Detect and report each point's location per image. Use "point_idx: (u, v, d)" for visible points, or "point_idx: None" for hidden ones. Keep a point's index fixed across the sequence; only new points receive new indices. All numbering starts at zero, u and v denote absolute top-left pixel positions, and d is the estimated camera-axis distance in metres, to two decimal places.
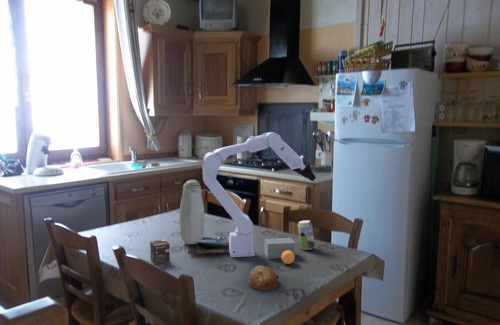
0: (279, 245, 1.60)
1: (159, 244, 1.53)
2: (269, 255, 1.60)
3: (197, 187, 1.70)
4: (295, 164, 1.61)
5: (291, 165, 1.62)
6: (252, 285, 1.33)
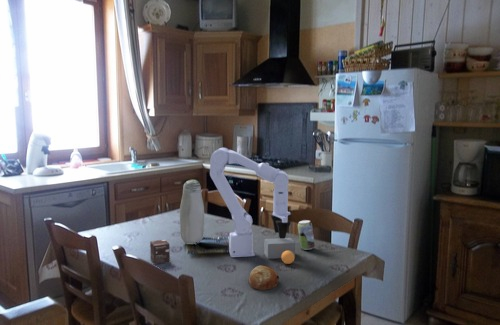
0: (279, 245, 1.60)
1: (159, 244, 1.53)
2: (269, 255, 1.60)
3: (197, 187, 1.70)
4: (280, 213, 1.59)
5: (276, 211, 1.59)
6: (252, 285, 1.33)
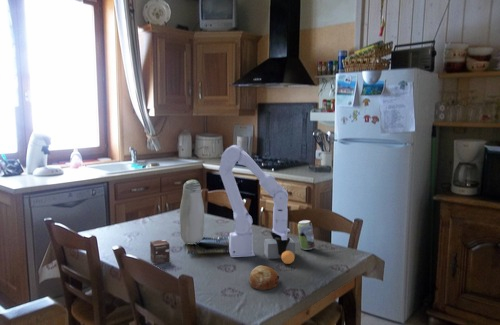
0: None
1: (159, 244, 1.53)
2: (269, 255, 1.60)
3: (197, 187, 1.70)
4: (279, 231, 1.59)
5: (275, 228, 1.60)
6: (253, 285, 1.33)
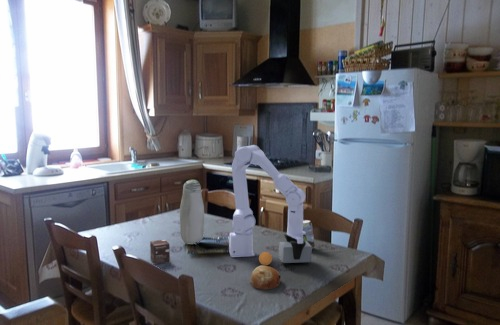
0: None
1: (159, 244, 1.53)
2: (284, 259, 1.51)
3: (197, 187, 1.70)
4: (294, 233, 1.51)
5: (290, 231, 1.52)
6: (254, 285, 1.33)
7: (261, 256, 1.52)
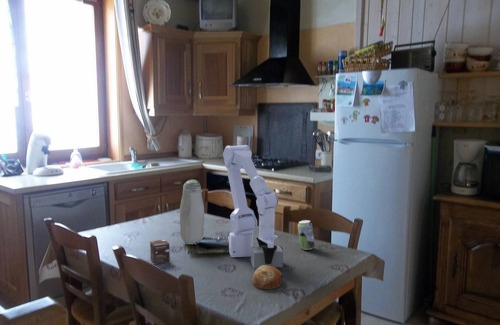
0: None
1: (159, 244, 1.53)
2: (255, 265, 1.50)
3: (197, 187, 1.70)
4: (265, 237, 1.49)
5: (262, 235, 1.50)
6: (256, 285, 1.34)
7: None
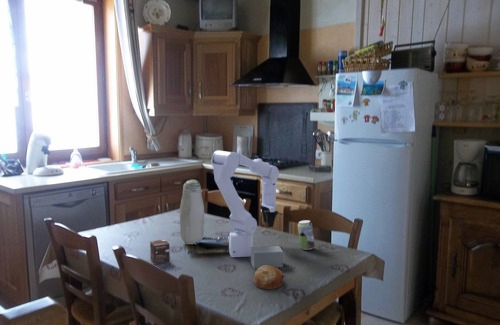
0: (266, 254, 1.50)
1: (159, 244, 1.53)
2: (255, 265, 1.50)
3: (197, 187, 1.70)
4: (268, 204, 1.70)
5: (264, 202, 1.70)
6: (257, 284, 1.34)
7: None
